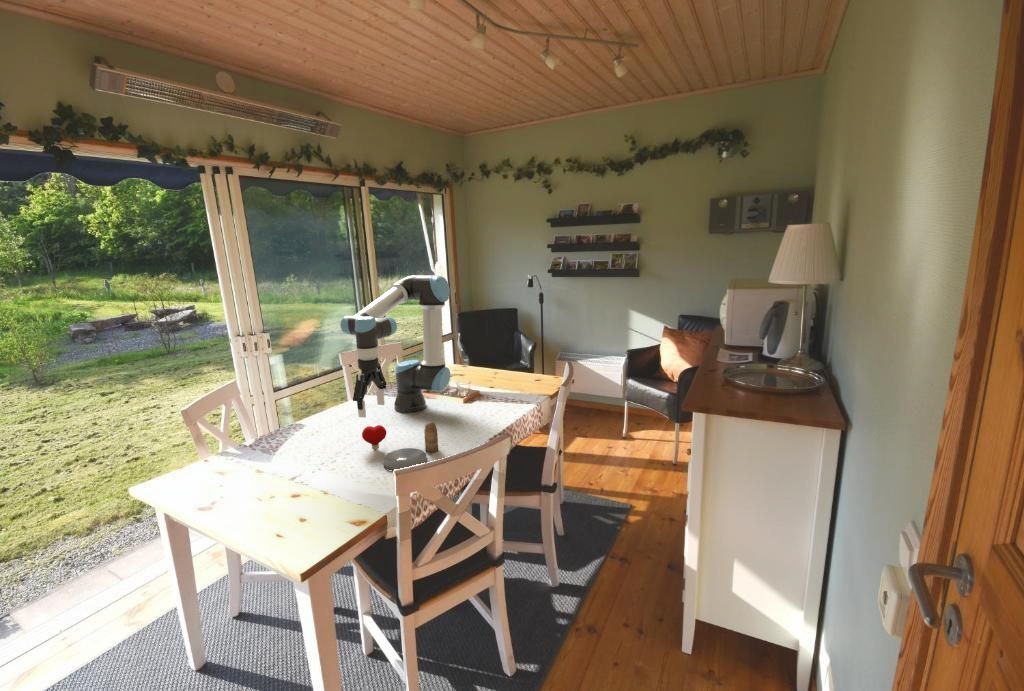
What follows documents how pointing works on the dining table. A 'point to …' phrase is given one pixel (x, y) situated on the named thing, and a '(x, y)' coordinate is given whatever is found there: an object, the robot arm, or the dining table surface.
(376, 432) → the red heart
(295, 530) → the dining table surface
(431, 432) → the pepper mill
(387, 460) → the disc
